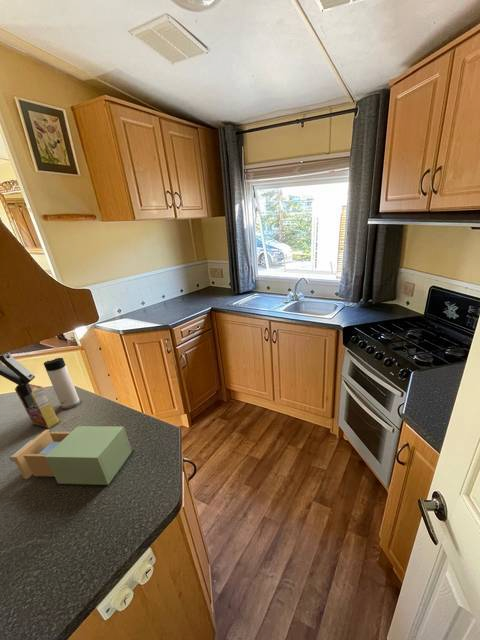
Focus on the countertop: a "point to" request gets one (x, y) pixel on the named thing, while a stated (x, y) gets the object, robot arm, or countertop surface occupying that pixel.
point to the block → (49, 448)
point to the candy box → (40, 408)
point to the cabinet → (89, 455)
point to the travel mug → (62, 383)
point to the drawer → (36, 454)
